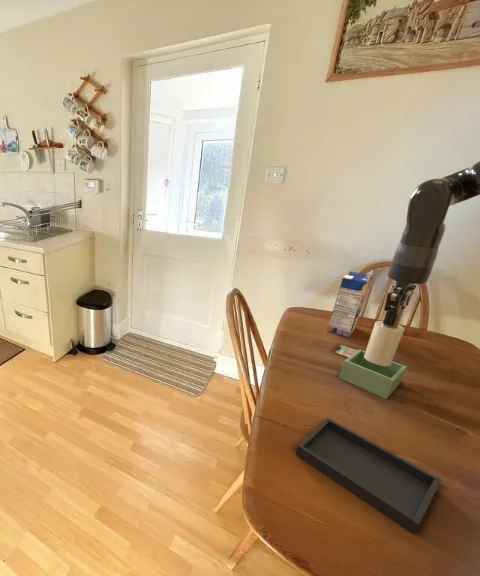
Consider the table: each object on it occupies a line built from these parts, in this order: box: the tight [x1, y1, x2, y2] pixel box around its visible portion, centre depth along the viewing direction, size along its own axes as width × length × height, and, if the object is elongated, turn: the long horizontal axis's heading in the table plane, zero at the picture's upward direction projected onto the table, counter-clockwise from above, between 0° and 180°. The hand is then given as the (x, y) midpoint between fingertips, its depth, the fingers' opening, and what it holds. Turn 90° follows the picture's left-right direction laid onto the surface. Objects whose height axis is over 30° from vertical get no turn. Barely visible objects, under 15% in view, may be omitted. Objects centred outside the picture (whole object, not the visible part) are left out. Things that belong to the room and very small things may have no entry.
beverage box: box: [326, 270, 374, 339], centre depth 118 cm, size 7×11×22 cm, turn 132°
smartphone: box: [333, 344, 359, 359], centre depth 102 cm, size 8×15×1 cm, turn 41°
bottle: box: [364, 306, 405, 366], centre depth 86 cm, size 6×6×16 cm
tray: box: [295, 417, 442, 535], centre depth 65 cm, size 20×15×3 cm
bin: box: [338, 348, 408, 400], centre depth 91 cm, size 11×11×7 cm
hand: (390, 322), depth 85 cm, fingers closed on bottle, 3 cm apart
